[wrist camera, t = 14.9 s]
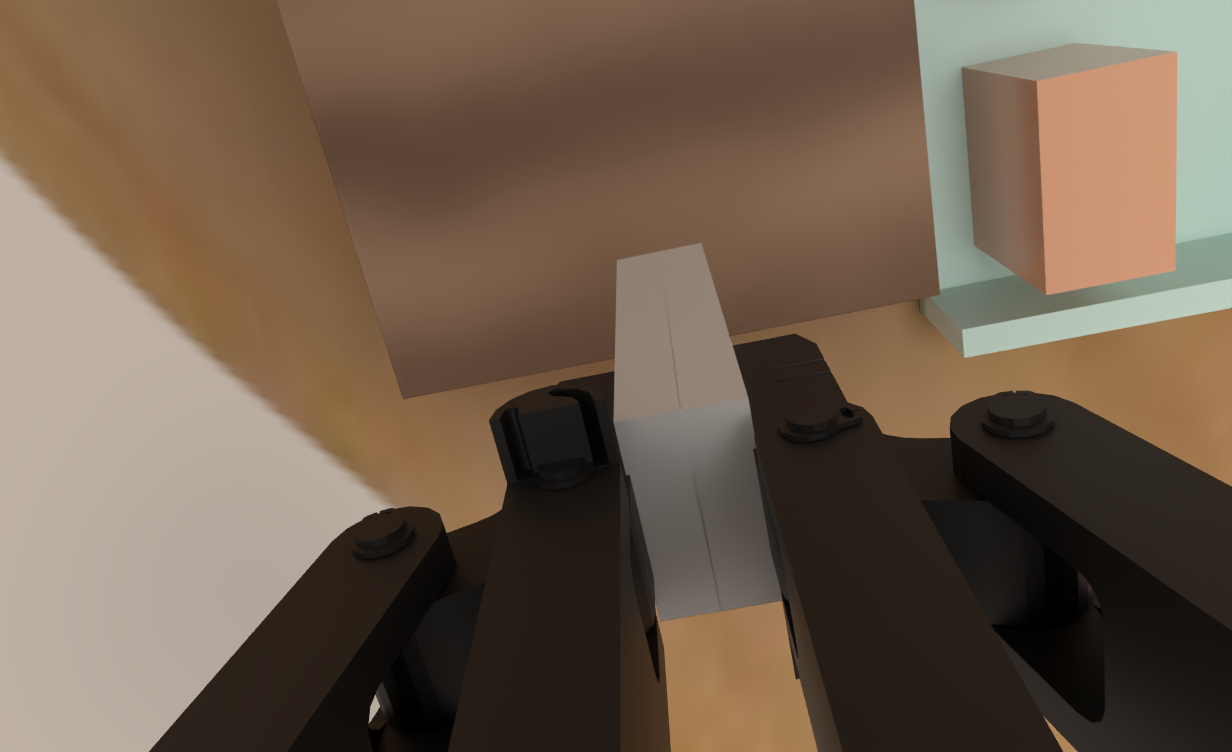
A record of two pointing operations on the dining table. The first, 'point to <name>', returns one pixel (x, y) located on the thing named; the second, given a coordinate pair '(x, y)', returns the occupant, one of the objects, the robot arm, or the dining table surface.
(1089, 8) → the tray
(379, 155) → the plate
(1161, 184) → the terracotta tile
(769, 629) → the dining table surface
